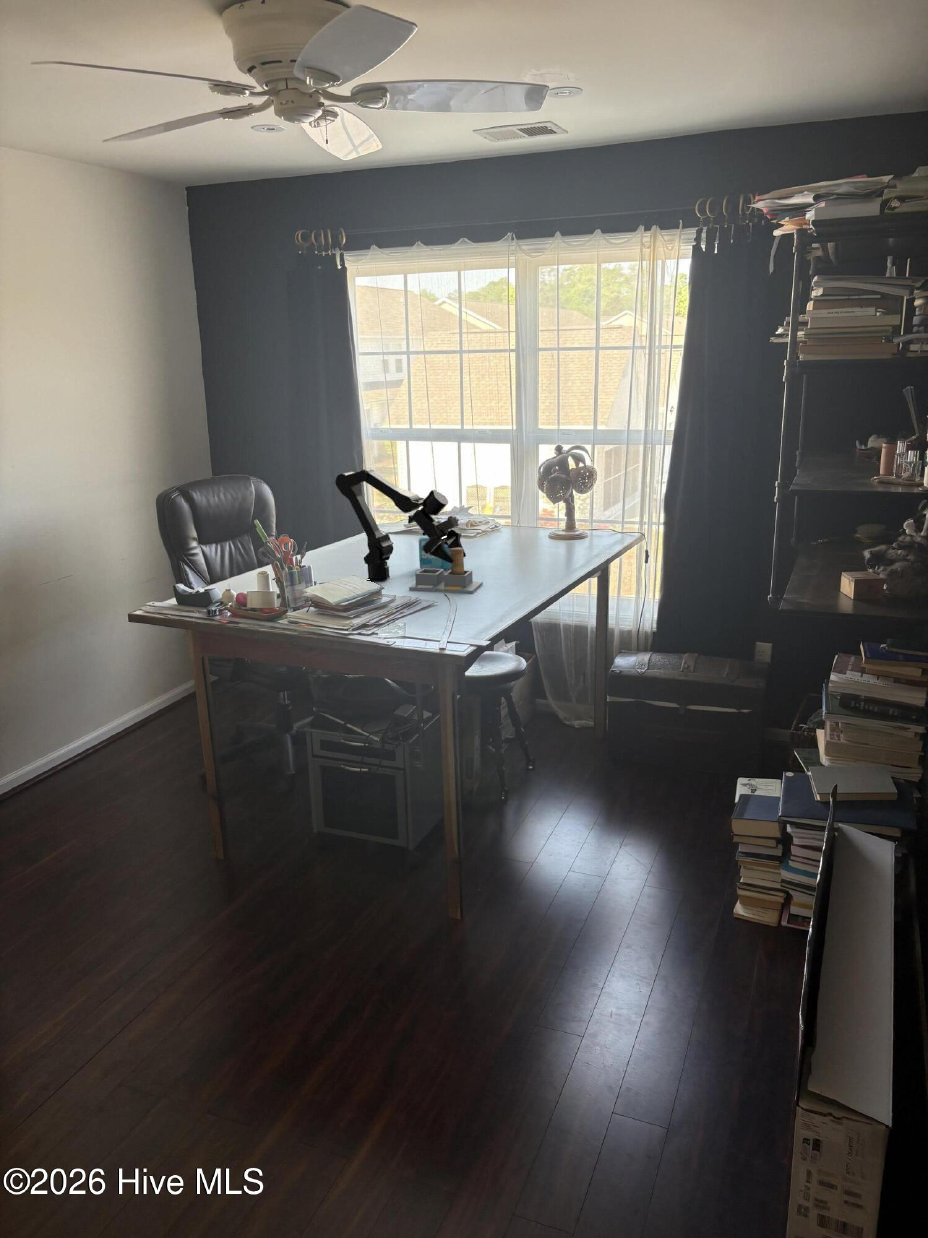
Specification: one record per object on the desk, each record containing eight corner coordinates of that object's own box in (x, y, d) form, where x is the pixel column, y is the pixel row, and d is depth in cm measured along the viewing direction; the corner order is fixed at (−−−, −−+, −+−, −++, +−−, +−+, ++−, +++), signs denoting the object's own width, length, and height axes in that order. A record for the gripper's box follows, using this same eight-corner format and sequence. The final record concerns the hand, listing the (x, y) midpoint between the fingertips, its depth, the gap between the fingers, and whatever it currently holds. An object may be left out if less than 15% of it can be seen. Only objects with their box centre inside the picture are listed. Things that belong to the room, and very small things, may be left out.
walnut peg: (449, 584, 298) (447, 549, 295) (457, 581, 301) (455, 547, 298) (459, 586, 296) (457, 550, 292) (467, 583, 299) (465, 548, 295)
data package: (420, 571, 323) (418, 538, 319) (419, 568, 327) (418, 535, 324) (453, 569, 324) (452, 536, 320) (452, 566, 328) (451, 534, 325)
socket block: (409, 590, 297) (408, 575, 295) (421, 581, 308) (420, 567, 306) (472, 593, 290) (472, 578, 289) (482, 584, 301) (482, 570, 300)
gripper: (429, 513, 285) (461, 549, 284) (455, 504, 301) (486, 538, 300) (409, 535, 291) (440, 571, 289) (436, 525, 307) (465, 559, 305)
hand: (459, 559), depth 296 cm, fingers open, 9 cm apart
